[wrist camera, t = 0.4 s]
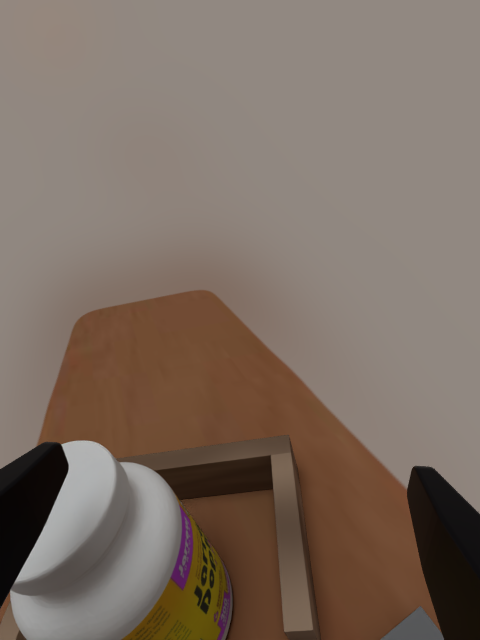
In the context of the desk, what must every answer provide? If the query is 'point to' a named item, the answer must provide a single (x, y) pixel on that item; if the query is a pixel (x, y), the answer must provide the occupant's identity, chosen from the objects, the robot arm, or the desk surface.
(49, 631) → the supplement bottle
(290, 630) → the frame
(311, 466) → the desk surface
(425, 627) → the charcoal mat
